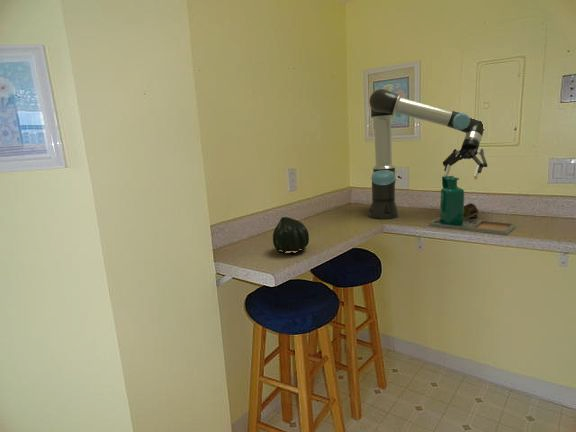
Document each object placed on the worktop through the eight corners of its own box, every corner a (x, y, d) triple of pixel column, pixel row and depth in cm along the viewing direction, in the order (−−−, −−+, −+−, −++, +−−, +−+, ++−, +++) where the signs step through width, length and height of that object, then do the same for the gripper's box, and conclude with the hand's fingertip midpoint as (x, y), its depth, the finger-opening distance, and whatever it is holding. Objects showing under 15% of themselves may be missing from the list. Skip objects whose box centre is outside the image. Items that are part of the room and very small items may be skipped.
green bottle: (464, 225, 177) (466, 177, 172) (446, 227, 177) (448, 179, 172) (454, 220, 187) (455, 175, 182) (437, 222, 186) (438, 176, 181)
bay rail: (428, 225, 181) (428, 222, 180) (441, 218, 192) (441, 216, 191) (506, 235, 159) (506, 231, 159) (515, 226, 171) (515, 223, 170)
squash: (322, 237, 153) (300, 207, 157) (297, 248, 143) (275, 216, 147) (303, 254, 163) (283, 226, 166) (279, 266, 152) (258, 236, 156)
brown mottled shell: (484, 209, 184) (475, 201, 193) (457, 208, 184) (449, 200, 193) (480, 222, 187) (471, 214, 196) (454, 221, 187) (446, 213, 196)
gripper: (500, 147, 187) (489, 183, 179) (447, 148, 203) (435, 180, 195) (498, 137, 182) (487, 173, 174) (444, 138, 198) (432, 171, 190)
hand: (460, 177), depth 185 cm, fingers open, 13 cm apart
